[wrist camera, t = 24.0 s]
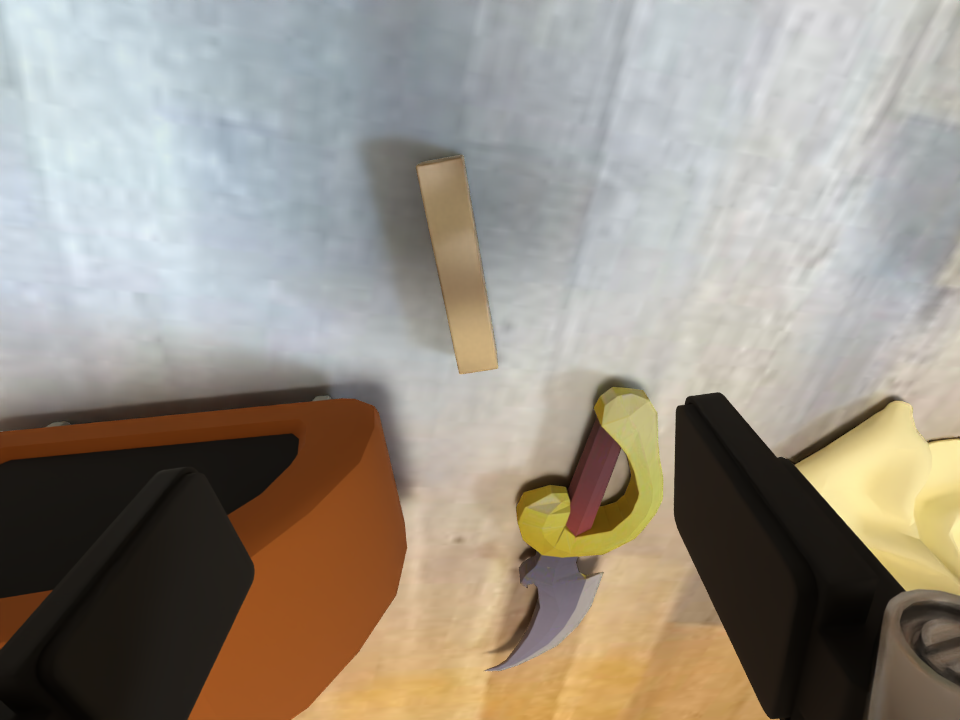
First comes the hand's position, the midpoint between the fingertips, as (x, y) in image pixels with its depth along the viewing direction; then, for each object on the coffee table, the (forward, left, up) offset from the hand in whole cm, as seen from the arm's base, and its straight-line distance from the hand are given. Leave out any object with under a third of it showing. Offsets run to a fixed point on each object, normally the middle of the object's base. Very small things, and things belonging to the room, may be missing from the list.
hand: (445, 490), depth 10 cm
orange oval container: (+9, -17, -16) cm, 25 cm away
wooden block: (0, 0, -16) cm, 16 cm away
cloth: (+23, +23, -16) cm, 36 cm away
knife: (+19, +3, -16) cm, 25 cm away
